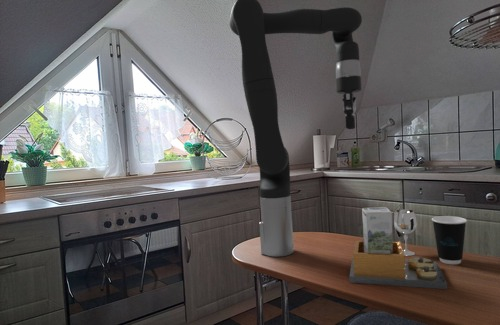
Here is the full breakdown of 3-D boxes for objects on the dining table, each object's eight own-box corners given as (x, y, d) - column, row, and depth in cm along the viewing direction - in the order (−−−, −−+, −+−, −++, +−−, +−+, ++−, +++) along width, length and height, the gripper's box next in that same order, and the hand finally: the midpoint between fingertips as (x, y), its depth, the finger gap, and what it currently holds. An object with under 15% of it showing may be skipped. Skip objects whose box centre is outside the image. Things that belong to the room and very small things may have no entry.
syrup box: (387, 263, 88) (385, 206, 87) (394, 272, 82) (391, 210, 82) (364, 264, 89) (361, 206, 88) (368, 272, 83) (366, 211, 82)
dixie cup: (444, 267, 87) (442, 223, 87) (426, 257, 95) (425, 216, 95) (475, 265, 88) (474, 221, 87) (455, 255, 96) (454, 214, 95)
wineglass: (416, 257, 96) (414, 213, 95) (393, 255, 99) (391, 212, 98) (418, 251, 100) (417, 209, 100) (397, 249, 103) (395, 208, 103)
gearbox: (349, 282, 82) (348, 254, 82) (352, 263, 94) (351, 239, 94) (447, 289, 75) (446, 259, 75) (436, 267, 88) (435, 241, 87)
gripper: (338, 81, 119) (340, 130, 120) (333, 74, 105) (336, 129, 106) (361, 78, 116) (363, 128, 117) (360, 71, 103) (362, 127, 104)
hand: (350, 128), depth 112 cm, fingers open, 8 cm apart
